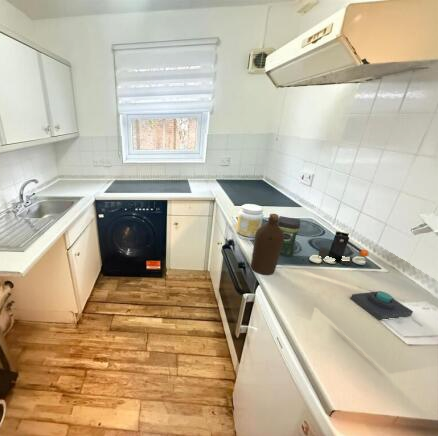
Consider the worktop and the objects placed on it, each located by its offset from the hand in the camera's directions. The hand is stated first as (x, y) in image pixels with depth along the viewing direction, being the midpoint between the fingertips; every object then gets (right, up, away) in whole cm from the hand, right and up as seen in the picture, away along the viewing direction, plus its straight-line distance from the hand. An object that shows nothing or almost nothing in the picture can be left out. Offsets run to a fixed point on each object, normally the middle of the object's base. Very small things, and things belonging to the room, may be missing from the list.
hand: (411, 232), depth 90 cm
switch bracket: (-15, -14, +19) cm, 28 cm away
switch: (-12, -8, +14) cm, 20 cm away
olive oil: (-51, -17, +12) cm, 55 cm away
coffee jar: (-37, -12, +23) cm, 45 cm away
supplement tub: (-46, -5, +41) cm, 61 cm away
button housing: (-21, -25, -9) cm, 34 cm away
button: (-21, -22, -10) cm, 32 cm away
